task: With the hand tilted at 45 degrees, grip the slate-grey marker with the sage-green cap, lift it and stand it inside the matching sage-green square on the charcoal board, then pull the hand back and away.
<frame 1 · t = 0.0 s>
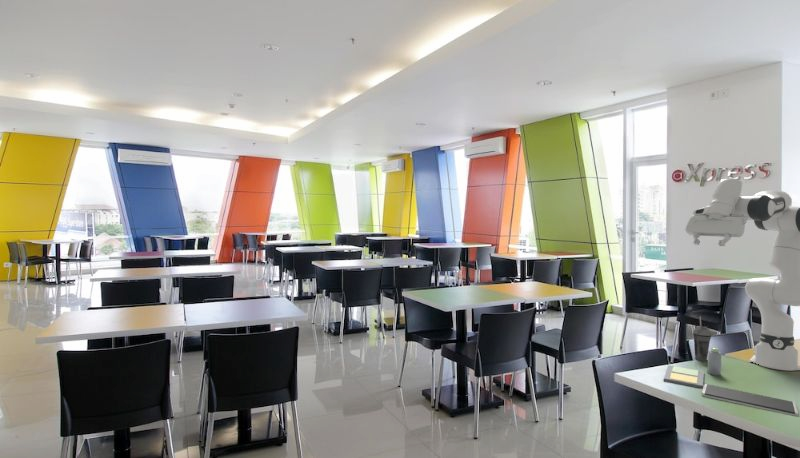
hand: (708, 244, 184), 54 cm above the table, tool tilted 30°, fingers open, 8 cm apart
colour board: (684, 377, 191), on the table
beverage cup: (700, 359, 218), on the table
grey tray: (747, 402, 167), on the table
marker: (713, 373, 197), on the table
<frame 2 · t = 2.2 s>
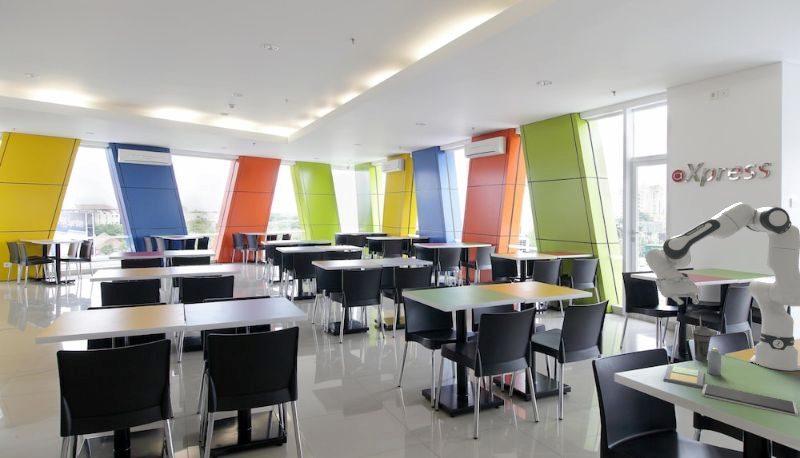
hand: (689, 303, 208), 27 cm above the table, tool tilted 45°, fingers open, 8 cm apart
nothing on the table moved.
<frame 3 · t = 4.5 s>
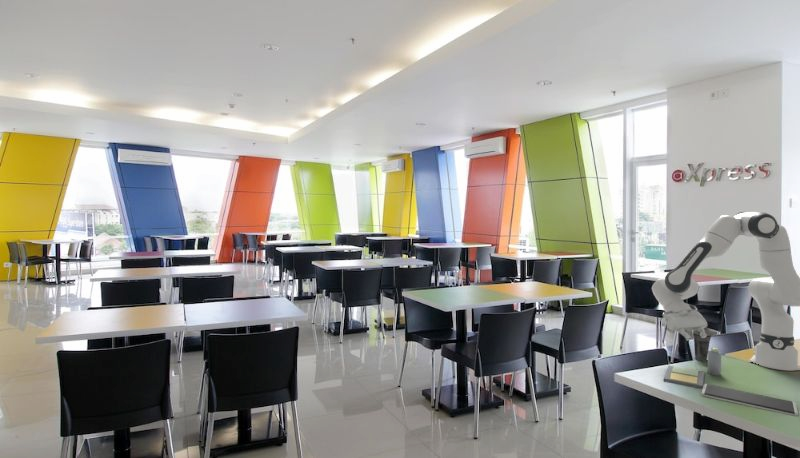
hand: (697, 337, 204), 13 cm above the table, tool tilted 45°, fingers open, 8 cm apart
nothing on the table moved.
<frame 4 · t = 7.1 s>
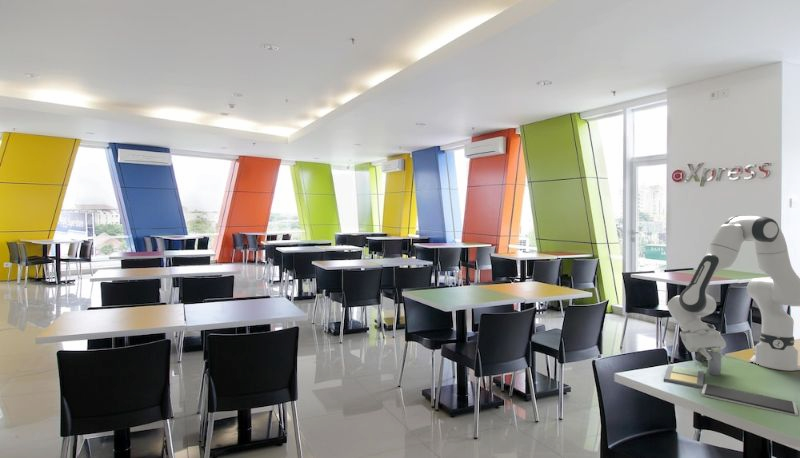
hand: (716, 358, 196), 6 cm above the table, tool tilted 45°, fingers closed on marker, 5 cm apart
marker: (713, 373, 197), on the table, touching gripper
everything else where it was.
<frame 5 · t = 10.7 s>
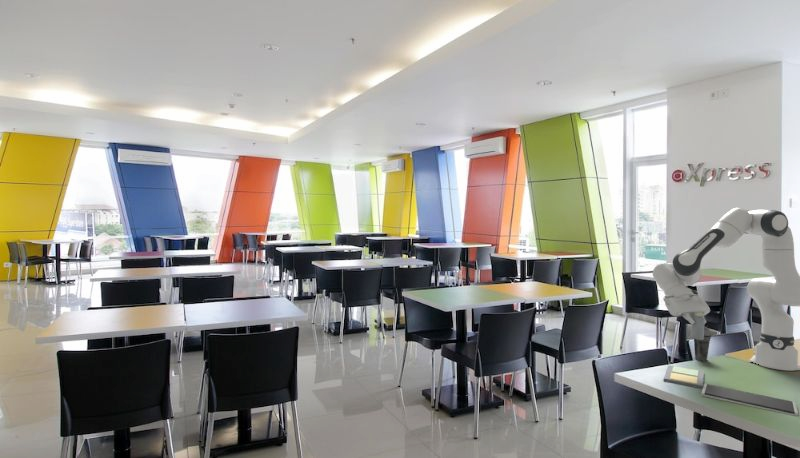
hand: (699, 323, 195), 21 cm above the table, tool tilted 45°, fingers closed on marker, 5 cm apart
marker: (696, 338, 195), point 15 cm above the table, touching gripper
everything else where it was.
when the fingers open (9 cm above the table, at t = 14.7 s): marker drops 2 cm, resting on colour board.
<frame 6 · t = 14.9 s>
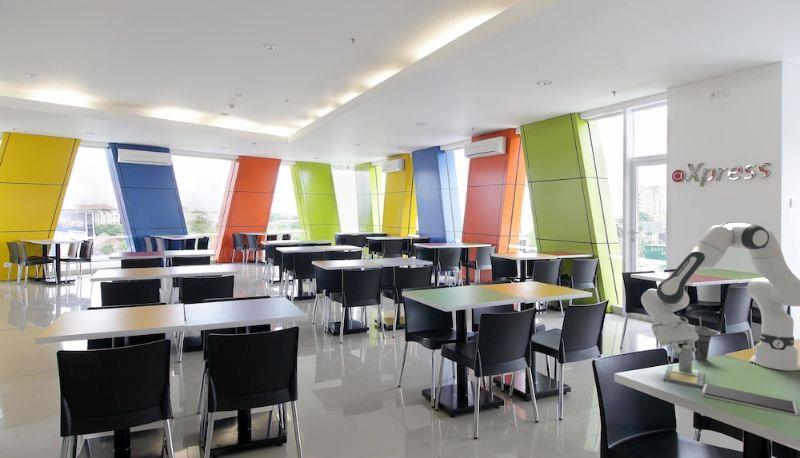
hand: (687, 351, 194), 9 cm above the table, tool tilted 45°, fingers open, 6 cm apart
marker: (685, 370, 195), point 1 cm above the table, touching colour board
everything else where it was.
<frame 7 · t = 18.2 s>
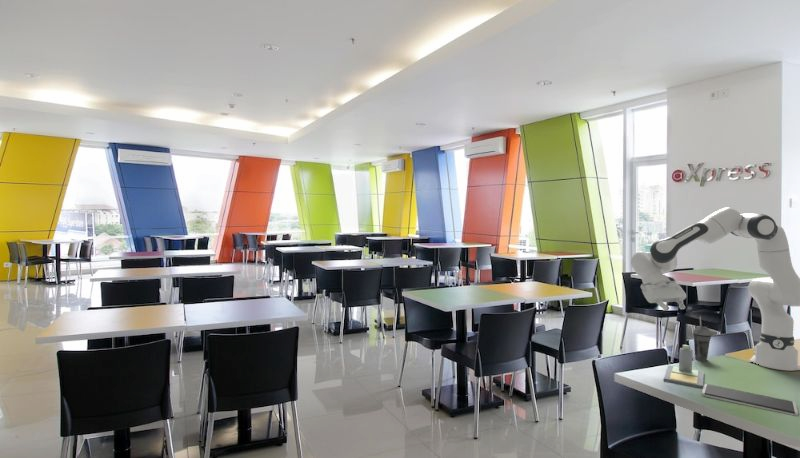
hand: (675, 309, 200), 26 cm above the table, tool tilted 45°, fingers open, 8 cm apart
nothing on the table moved.
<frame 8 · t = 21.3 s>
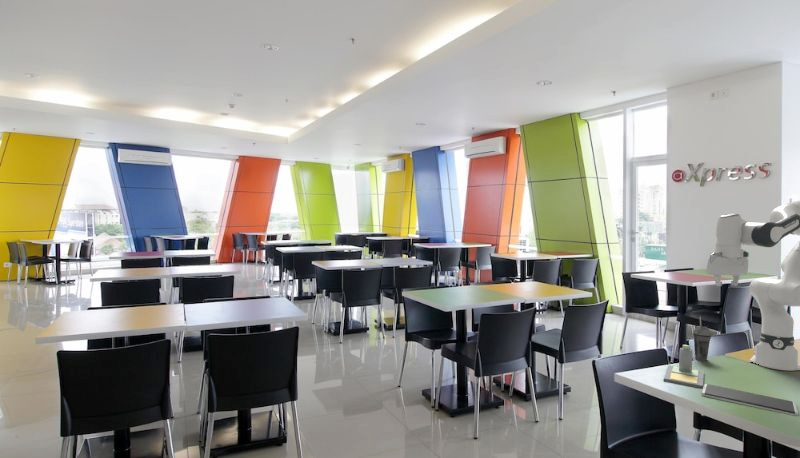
hand: (726, 285, 196), 37 cm above the table, tool pointing down, fingers open, 8 cm apart
nothing on the table moved.
at the end: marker 0.0 cm from the target spot on the colour board, point 1.2 cm above the colour board's base; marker tilted 0°; the gripper is holding nothing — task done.
